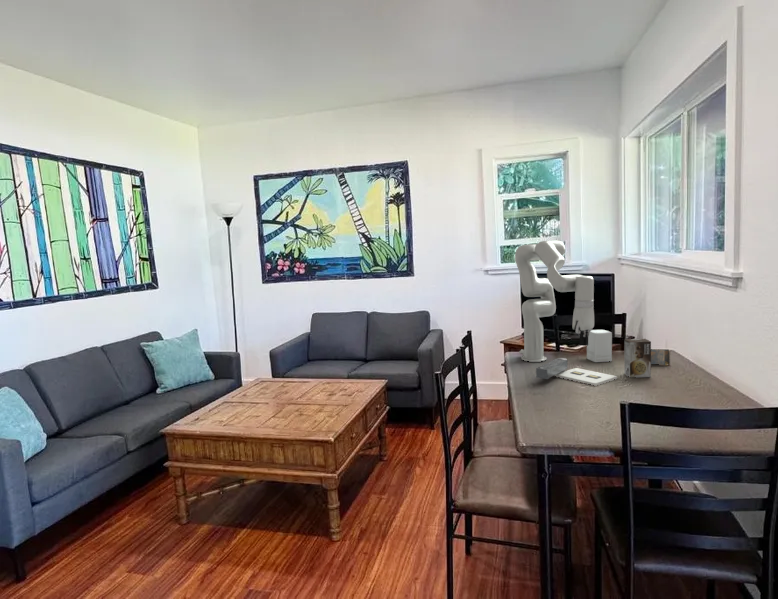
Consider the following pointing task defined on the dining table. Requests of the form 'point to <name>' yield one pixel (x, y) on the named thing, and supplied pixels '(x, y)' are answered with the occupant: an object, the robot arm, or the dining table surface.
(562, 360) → the swing bar
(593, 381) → the label board
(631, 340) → the coffee box
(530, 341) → the robot arm
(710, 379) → the dining table surface
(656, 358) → the blue grey rectangular box
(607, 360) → the supplement box
